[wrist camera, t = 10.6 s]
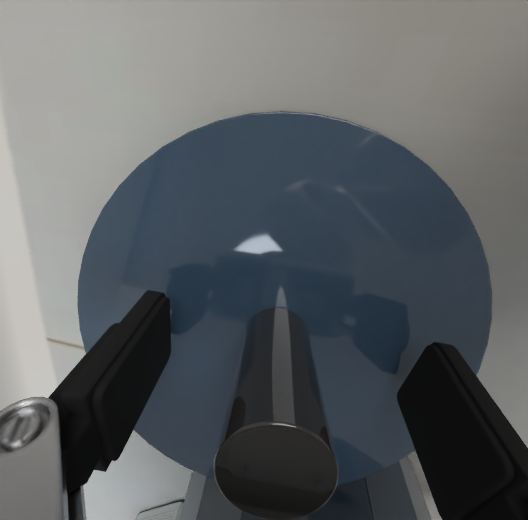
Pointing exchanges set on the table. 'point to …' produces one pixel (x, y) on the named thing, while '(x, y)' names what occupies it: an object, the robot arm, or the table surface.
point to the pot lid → (287, 299)
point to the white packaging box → (163, 512)
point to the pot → (338, 506)
